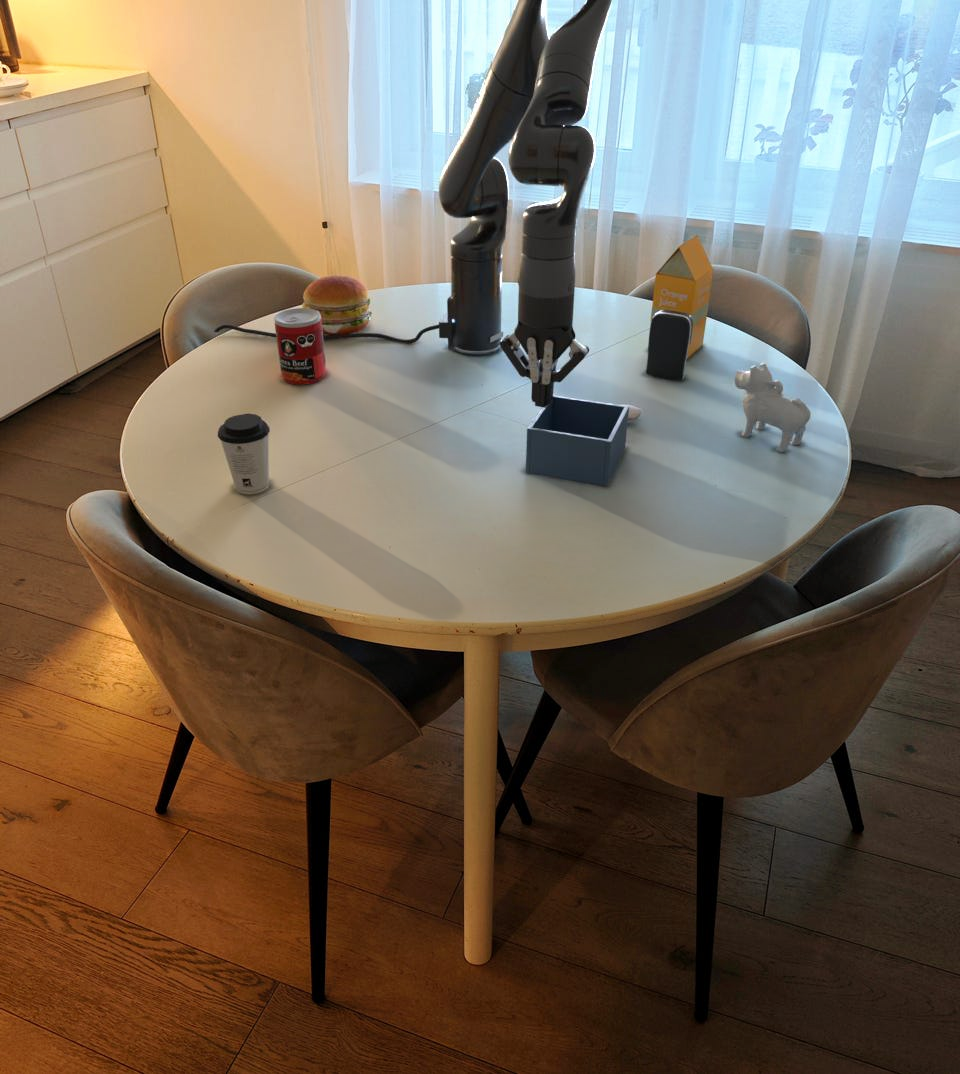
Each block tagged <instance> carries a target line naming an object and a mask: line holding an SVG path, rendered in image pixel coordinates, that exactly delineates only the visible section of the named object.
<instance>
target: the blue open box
mask: <svg viewBox="0 0 960 1074" xmlns="http://www.w3.org/2000/svg"><path fill="white" fill-rule="evenodd" d="M628 414H629V406H623V405H621V404H615V403H609V402H602V401H596V400H589V399H582V398H574V397H569V396H560V395H555V394H553V399H552V401H551V402H550V403H549V404H548V405H547V406H546V407H545V408H544V407H540V409H539V411H538V412H537V414H536V415H535V417H534V418H533V419H532V421H531V422H530V424H529V425H528V426H527V428H526V446H525V447H526V451H525V473H529V474H535V475H541V476H547V477H551V478H559V479H563V480H569V481H575V482H581V483H587V484H592V485H599V486H603V487H608V485H609V483H610V481H611V479H612V477H613V475H614V472H615V471H616V468H617V467H618V465H619V462H620V460H621V458H622V456H623V454H624V452H625V450H626V442H627V432H628V424H629V423H628Z"/></svg>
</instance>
